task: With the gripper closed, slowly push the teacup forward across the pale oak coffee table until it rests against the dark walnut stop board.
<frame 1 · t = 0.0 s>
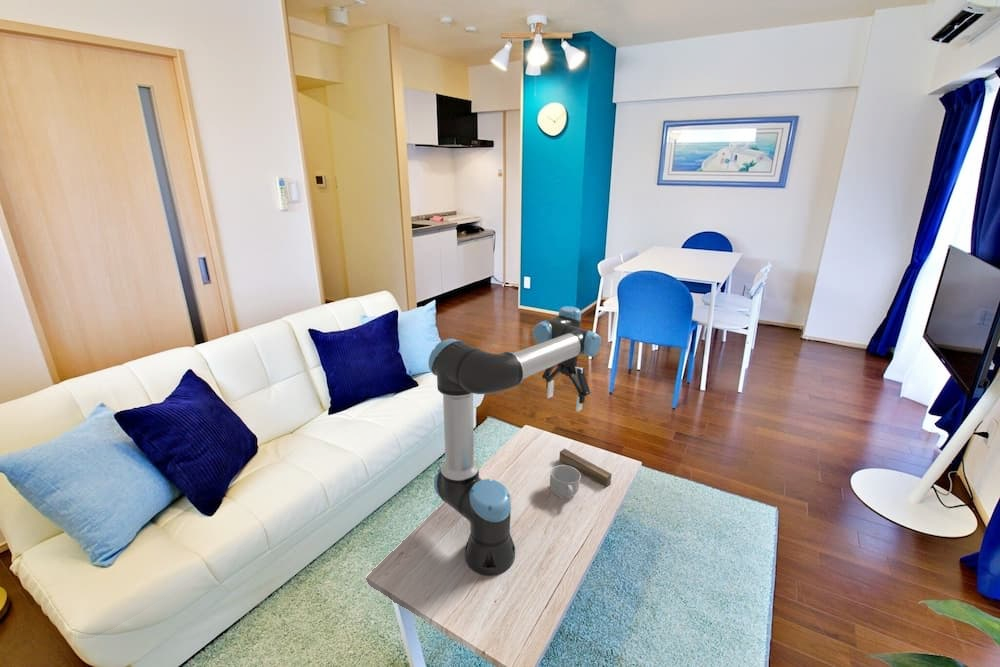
hand: (564, 403, 172), 28 cm above the table, fingers open, 13 cm apart
teacup: (564, 495, 167), on the table
board: (583, 472, 179), on the table
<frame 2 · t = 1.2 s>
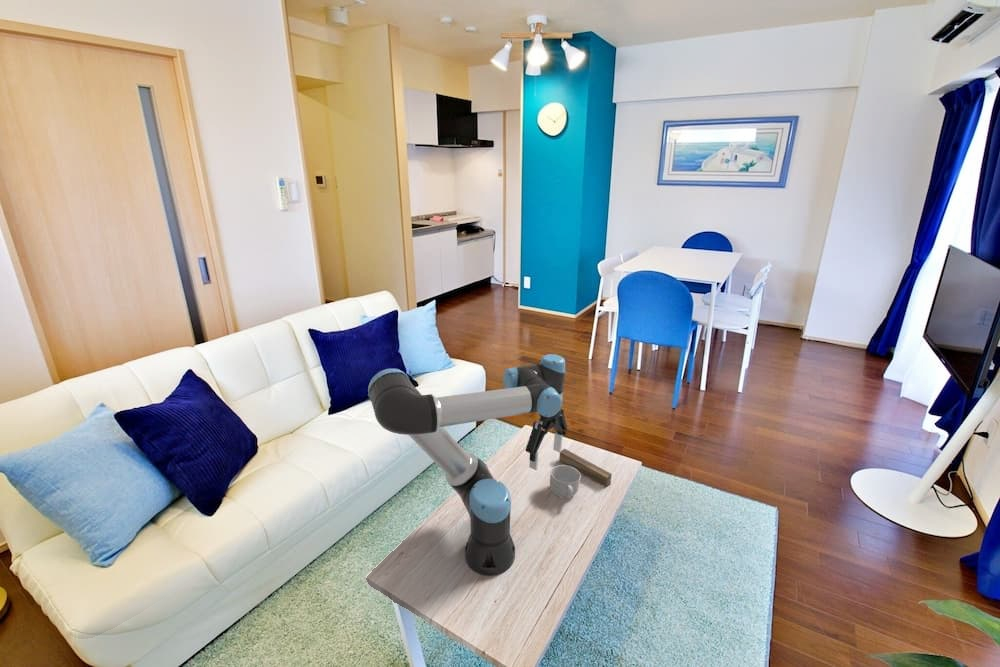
hand: (545, 459, 155), 19 cm above the table, fingers open, 13 cm apart
nothing on the table moved.
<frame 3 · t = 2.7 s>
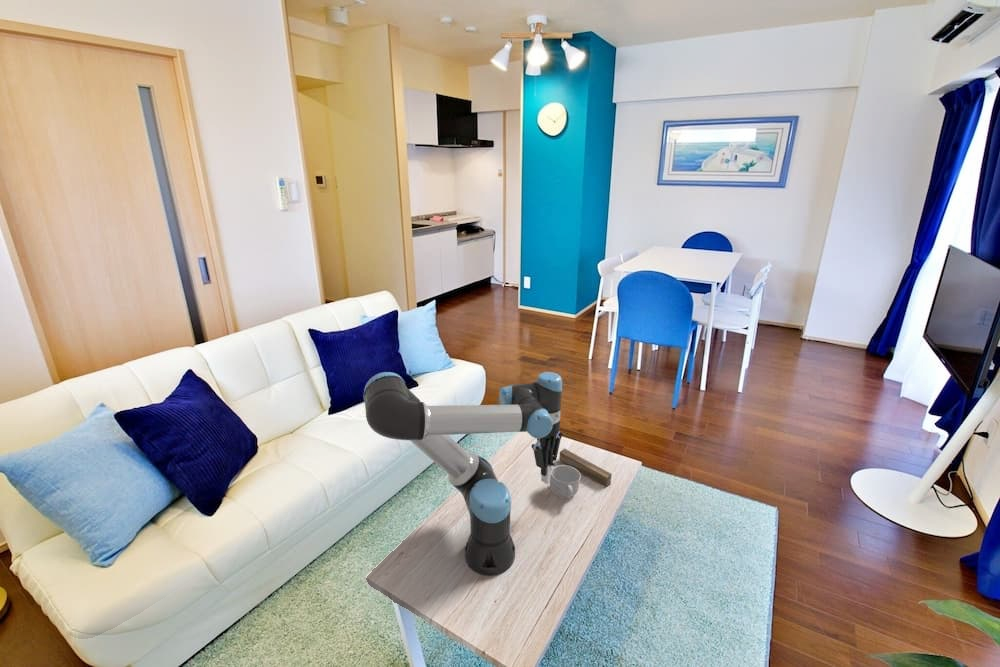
hand: (545, 481, 156), 12 cm above the table, fingers closed
nothing on the table moved.
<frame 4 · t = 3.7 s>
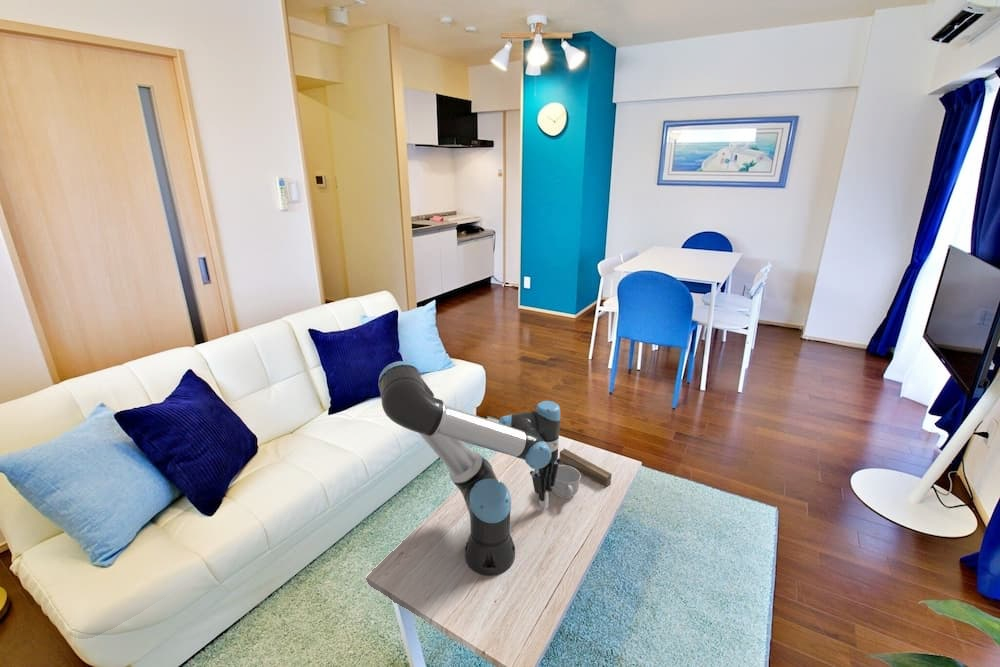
hand: (543, 506, 159), 1 cm above the table, fingers closed
nothing on the table moved.
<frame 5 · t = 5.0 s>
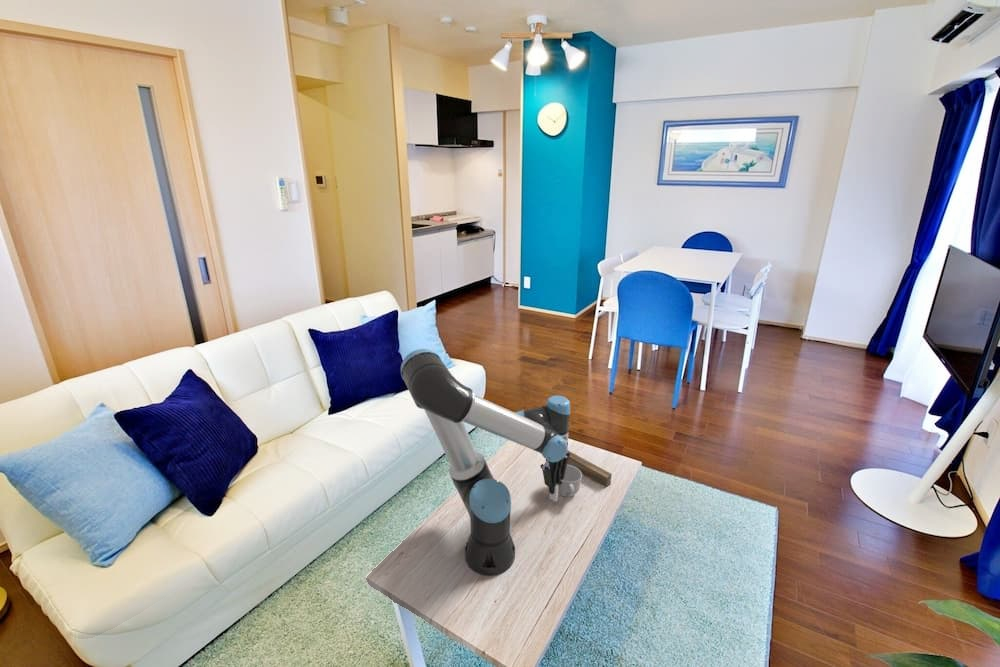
hand: (553, 499, 162), 2 cm above the table, fingers closed
teacup: (565, 494, 168), on the table, touching gripper
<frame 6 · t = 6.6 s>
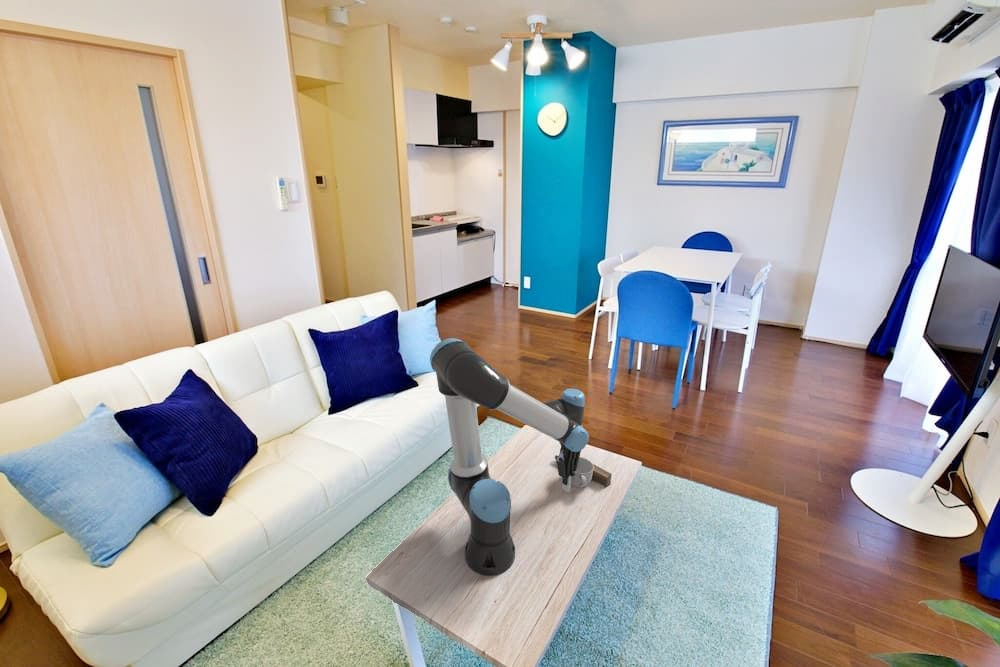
hand: (566, 490, 167), 1 cm above the table, fingers closed
teacup: (577, 485, 172), on the table, touching board, gripper
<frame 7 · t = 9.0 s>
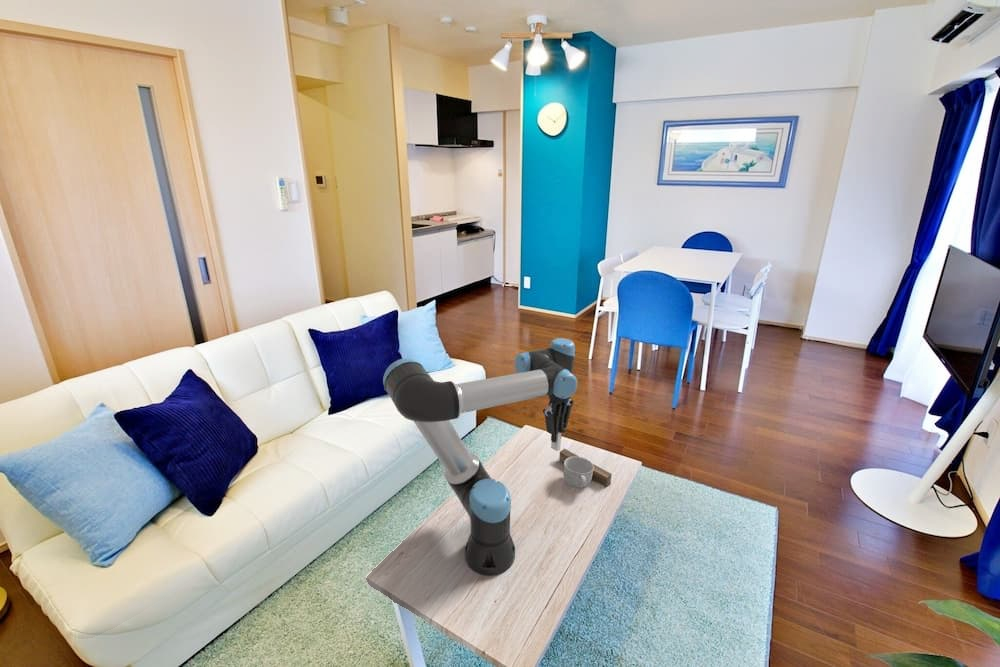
hand: (555, 448, 158), 21 cm above the table, fingers closed
teacup: (577, 485, 172), on the table
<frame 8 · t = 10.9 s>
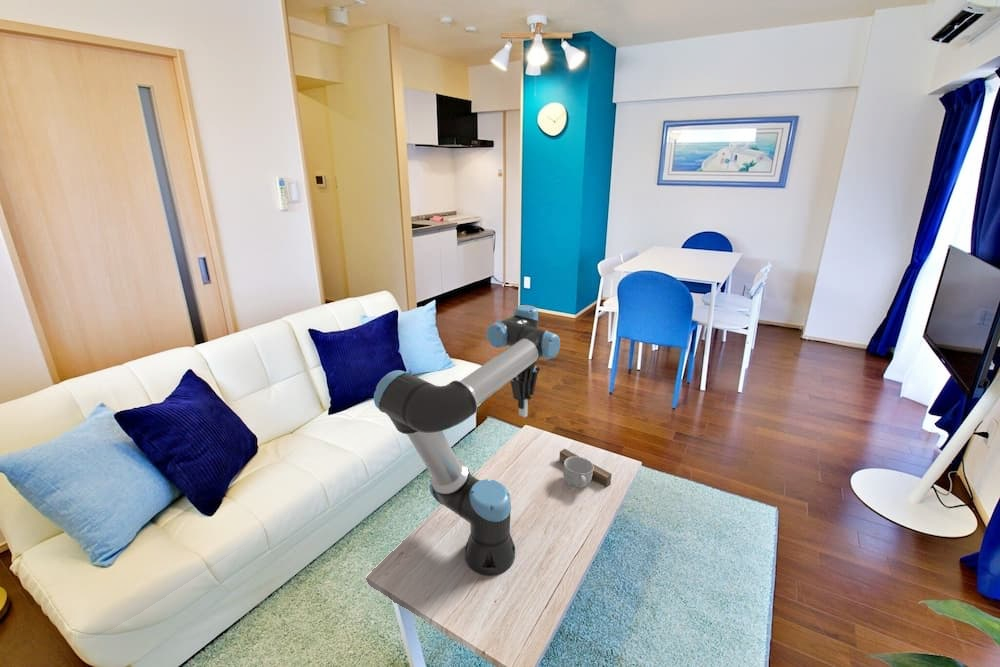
hand: (523, 415, 161), 29 cm above the table, fingers closed
nothing on the table moved.
at the end: teacup inside the target area on the table beside the board (3.0 cm from its centre), on the table; teacup tilted 0°; teacup moved 7.7 cm from its start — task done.
